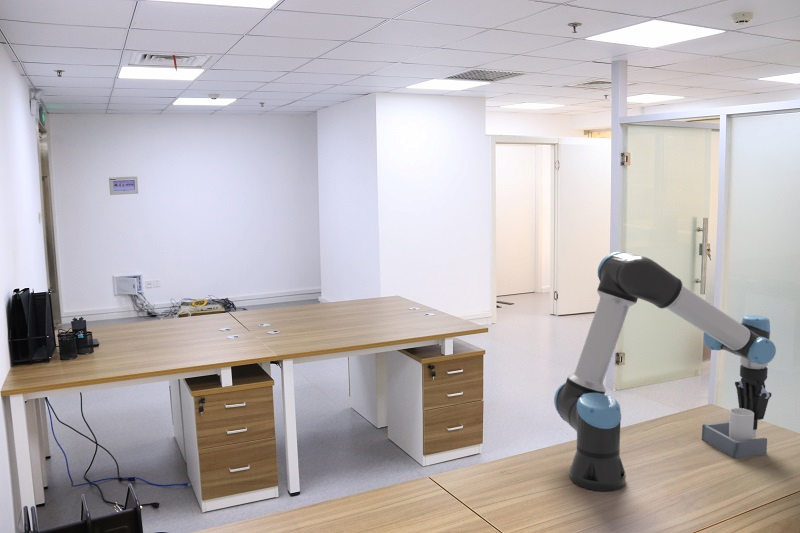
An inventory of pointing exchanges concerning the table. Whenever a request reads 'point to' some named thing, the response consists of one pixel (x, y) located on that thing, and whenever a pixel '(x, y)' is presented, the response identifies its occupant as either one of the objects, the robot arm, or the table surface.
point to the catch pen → (732, 441)
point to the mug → (741, 424)
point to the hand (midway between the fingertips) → (750, 438)
